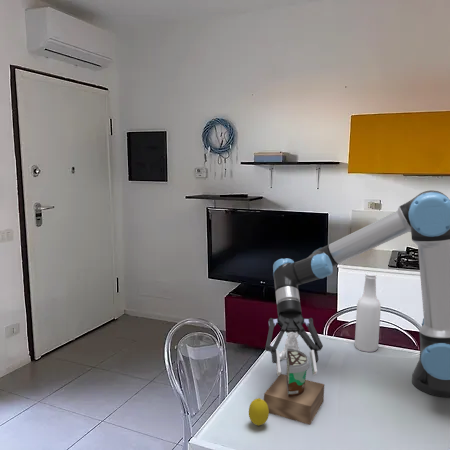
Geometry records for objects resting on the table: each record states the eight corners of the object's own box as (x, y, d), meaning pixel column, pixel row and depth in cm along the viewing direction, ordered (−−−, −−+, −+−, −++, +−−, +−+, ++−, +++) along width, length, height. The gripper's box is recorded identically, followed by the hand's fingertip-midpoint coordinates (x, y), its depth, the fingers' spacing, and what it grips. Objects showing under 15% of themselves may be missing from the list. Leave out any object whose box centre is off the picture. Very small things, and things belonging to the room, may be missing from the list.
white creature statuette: (275, 360, 166) (276, 329, 165) (280, 351, 175) (281, 321, 173) (301, 364, 164) (302, 332, 162) (305, 354, 172) (306, 324, 170)
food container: (310, 400, 129) (311, 367, 127) (288, 399, 129) (289, 366, 128) (306, 379, 141) (307, 348, 140) (286, 378, 142) (287, 347, 140)
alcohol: (351, 343, 182) (355, 270, 178) (372, 343, 183) (376, 270, 179) (359, 353, 174) (364, 276, 169) (381, 352, 175) (387, 276, 170)
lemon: (254, 433, 122) (254, 405, 121) (245, 422, 127) (245, 395, 126) (272, 428, 125) (272, 401, 123) (262, 418, 130) (263, 391, 128)
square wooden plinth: (323, 402, 139) (324, 384, 138) (310, 426, 127) (310, 406, 126) (280, 391, 145) (280, 373, 145) (263, 412, 133) (264, 393, 132)
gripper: (320, 308, 149) (331, 377, 136) (252, 309, 148) (257, 378, 135) (325, 298, 143) (338, 368, 130) (254, 298, 142) (260, 369, 129)
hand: (297, 373), depth 132 cm, fingers open, 10 cm apart
